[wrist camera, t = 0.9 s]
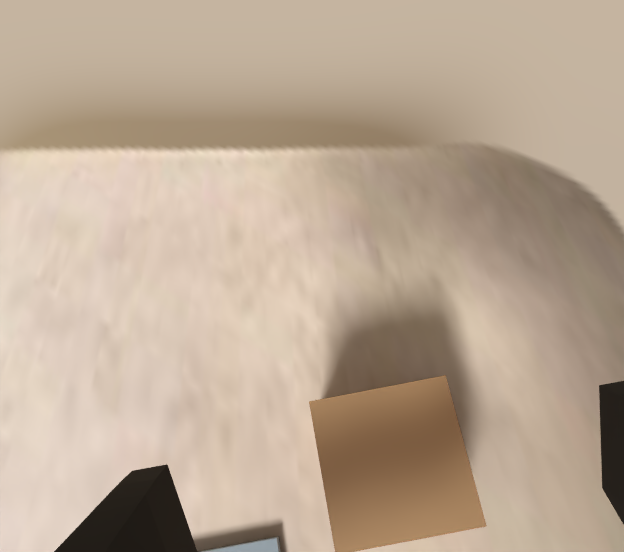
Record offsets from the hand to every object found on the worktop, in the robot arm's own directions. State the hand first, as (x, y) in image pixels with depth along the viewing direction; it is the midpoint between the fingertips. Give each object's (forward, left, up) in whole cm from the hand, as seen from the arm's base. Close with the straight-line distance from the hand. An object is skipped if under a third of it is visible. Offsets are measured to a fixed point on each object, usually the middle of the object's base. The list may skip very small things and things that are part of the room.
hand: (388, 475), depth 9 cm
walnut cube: (0, -1, -15) cm, 15 cm away
